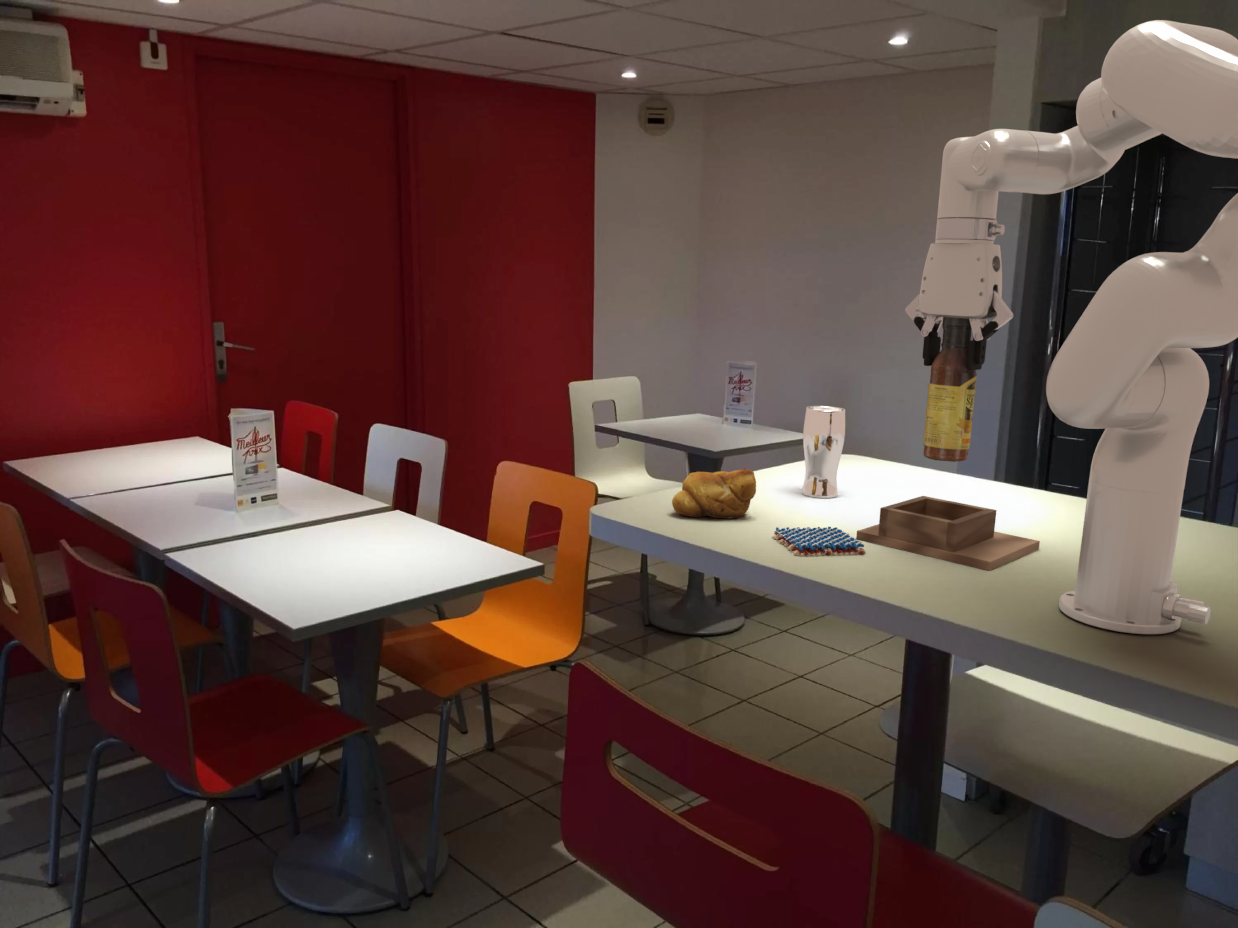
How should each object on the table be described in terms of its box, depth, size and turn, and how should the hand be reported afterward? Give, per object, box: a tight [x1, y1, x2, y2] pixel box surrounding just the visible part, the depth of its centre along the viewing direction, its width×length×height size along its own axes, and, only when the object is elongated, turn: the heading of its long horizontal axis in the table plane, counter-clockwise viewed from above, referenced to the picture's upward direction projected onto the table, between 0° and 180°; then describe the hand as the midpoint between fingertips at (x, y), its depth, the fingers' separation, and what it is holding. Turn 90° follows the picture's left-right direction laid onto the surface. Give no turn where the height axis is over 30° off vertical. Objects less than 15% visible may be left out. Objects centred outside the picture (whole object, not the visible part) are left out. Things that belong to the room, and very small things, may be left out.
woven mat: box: [771, 526, 866, 557], centre depth 142 cm, size 10×11×2 cm
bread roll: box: [671, 468, 757, 520], centre depth 158 cm, size 13×10×8 cm
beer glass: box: [801, 405, 846, 499], centre depth 173 cm, size 7×7×15 cm
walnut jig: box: [855, 495, 1041, 571], centre depth 144 cm, size 20×16×5 cm
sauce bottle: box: [922, 317, 978, 463], centre depth 140 cm, size 6×6×20 cm
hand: (952, 366), depth 140 cm, fingers closed on sauce bottle, 5 cm apart
